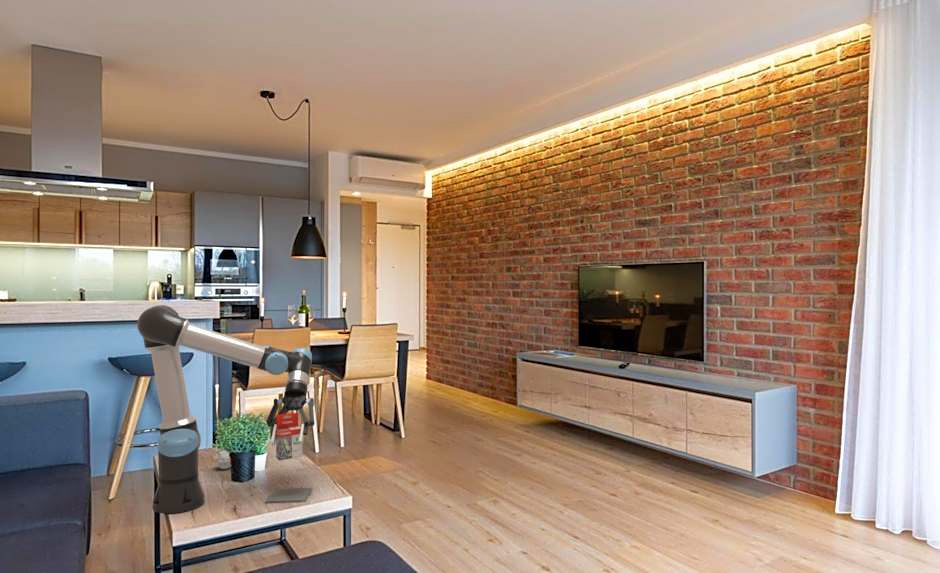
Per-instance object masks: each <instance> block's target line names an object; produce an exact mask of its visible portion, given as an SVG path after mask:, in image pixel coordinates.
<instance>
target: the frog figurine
mask: <svg viewBox="0 0 940 573" xmlns="http://www.w3.org/2000/svg"><path fill="white" fill-rule="evenodd" d="M225 451H226V450H221V451H219V452H217V453H216V454H215V456H214V457H215V458H214V459H215V461H216V462H217V465H218V467H219V469H221V470H228V469H229V468H231V467H230V457H229V454H230V453H229V452H228V451H226V452H225ZM228 453H229V454H228Z"/></svg>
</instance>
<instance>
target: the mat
mask: <svg viewBox="0 0 940 573" xmlns="http://www.w3.org/2000/svg"><path fill="white" fill-rule="evenodd" d="M312 489H314V487H293V488H292V487H290V488H287V487H286V488H274V489H273V490H272V491H271V493H270V494H269V496H268V497H267V499H266V500H265V501H264V504H278V503H279V504H283V503H285V502H288V503H302V502H301V501H306V500H307V501H308V499H309V497H310V495H311V493H312V492H311V491H313V490H312ZM308 496H309V497H308ZM307 498H308V499H307ZM307 501H306V502H307Z"/></svg>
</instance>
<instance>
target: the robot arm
mask: <svg viewBox="0 0 940 573" xmlns="http://www.w3.org/2000/svg"><path fill="white" fill-rule="evenodd" d="M136 324H137V330H138V333H139V334H140V336H141V337H142V339H143V344H144V345H143V346H144V349H145V350H147V351H149V352H150V354H151V361H152V366H153V367H152V368H153V372H154V378H155V384H156V388H157V389H156V390H157V394H158V399H159V406H160V411H161V417H162V422H161V423H160V425H159V426H158V428H159V429H158V430H159V435H160V436H159V438H158V442H157V450H158V453H157V454H158V459H157V460H158V461H157V462H158V485H157V487H156V491H155V494H154V497H153V500H152V510H153V512H155V513H158V514H165V515H166V514H168V513H171V514H178V513H184V512H188V511H189V512H190V511H191V509H192V510H194V508H195V509H197V508H199V507H200V506H202V505H204V503H205V493H204V490H203V487H202V485H201V482H200V479H199V451H200V447H201V442H202V439H201V434H200V432H199V429H198V424H197V423H198V422H197V418H196V417H194V416H193V415H192V414H191V412H190V406H189V401H188V400H189V399H188V394H187V389H186V382H185V377H184V370H183V365H182V364H183V363H182V359H181V354H180V346H181V347H185V348H188V349H192V350H195V351H198V352H202V353H205V354H209V355H211V356H216V357H219V358H222V359H225V360H229V361H232V362H235V363H238V364H241V365H244V366H248V367H250V368H251V367H252V368H255V369H257V370H261V371H264V372H267V373H269V374H270V375H274V376H280V375H282V374H284V373H288V374H287V379H286V384H285V389H284V395H283V397H282V398H281V399H278V398H274V399H273V405H272V408H271V409H270V412H269V414H268V417H267V418H266V421H265V422H266V426H267V427H268V428H270V430H269V435H270V436H271V441H270V442H271V445H272V447H275V446H276V428H277V416H276V415H281V414H289V411H291V412H292V411H298V412H299V415H300V416H301V420H302V421H303V423H301V432H300V438H299V442H300V445H302V446H303V444H304V439H305V436H307V435H308V432H309V427H311V426H312V427H313V426H315V416H314V406H315V399H314V398H313V397H310V398H307V395H308V394H307V392H308V387H309V380H310V375H311V374H310V373H311V370H312V369H311V368H312V364H313V362H312V361H313V355H312V351H311V350H310V349H308V348H305V347H301V348H300V347H296V348H294V349H293V351H288V350H284V349H280V348H277V347H273V346H268V345H258V344H255V343H253V342H249V341H246V340H242V339H239V338H237V337H233V336H230V335H227V334H224V333H220V332H217V331H215V330H213V329H212V330H211V329H208V328H205V327H202V326H199V325H197V324H194V323H193V324H192V323H191V322H190V320H188V318H184V317H181V316H180V315H179V313H178V312H177V311H176V309H174V308H173V307H171V306H168V305H164V304H163V305H154V306H151V307H149V308H147V309H145V310H144V311H143V312H142V313H141V314H140V315H139V316H138V319H137V323H136ZM281 404H282V407H281ZM306 404H307V406H308V416H309V419H307V416H306V414H305V411H304V409H303V407H304V406H305V405H306ZM279 407H281V409H280V410H279ZM278 410H279V411H278Z"/></svg>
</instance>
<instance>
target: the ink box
mask: <svg viewBox="0 0 940 573" xmlns="http://www.w3.org/2000/svg"><path fill="white" fill-rule="evenodd" d="M299 414H300V412H299V411H298V412H290V413H286V414H281V415H277V414H276V415H275V417H276V416H277V428H276V442H275V446H276V447H275V448H276V449H275V450H276V451H275V458H276V459H277V460H278V461H284V460H291V459H296V458H302V457H303V445H300V442H299V438H300V432H301V427H300V426H299ZM287 416H289V417H287Z"/></svg>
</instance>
